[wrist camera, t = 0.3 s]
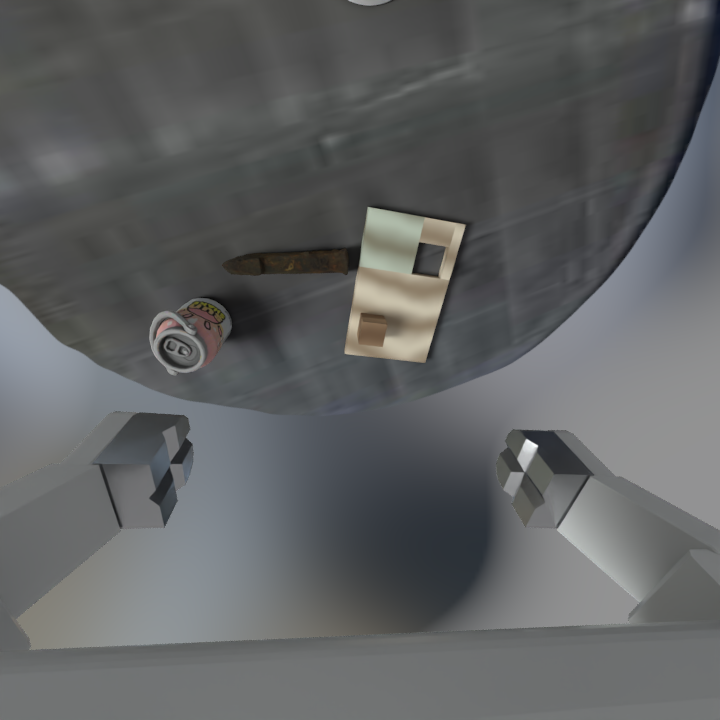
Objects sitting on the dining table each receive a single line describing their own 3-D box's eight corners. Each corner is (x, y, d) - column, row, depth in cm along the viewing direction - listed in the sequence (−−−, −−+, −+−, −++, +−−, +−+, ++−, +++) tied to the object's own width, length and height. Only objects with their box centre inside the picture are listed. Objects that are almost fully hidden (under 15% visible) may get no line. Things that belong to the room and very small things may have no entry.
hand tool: (348, 245, 51) (349, 250, 47) (347, 271, 53) (349, 278, 49) (223, 243, 50) (214, 248, 45) (227, 269, 51) (218, 277, 47)
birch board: (367, 206, 48) (368, 207, 47) (462, 223, 51) (465, 224, 49) (344, 350, 59) (344, 353, 58) (423, 358, 62) (425, 362, 60)
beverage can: (168, 325, 54) (129, 359, 44) (185, 282, 51) (148, 307, 41) (222, 350, 57) (198, 387, 47) (241, 310, 54) (220, 341, 44)
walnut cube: (360, 312, 55) (362, 321, 51) (383, 315, 55) (387, 324, 52) (356, 334, 57) (358, 344, 53) (379, 337, 57) (382, 347, 54)
